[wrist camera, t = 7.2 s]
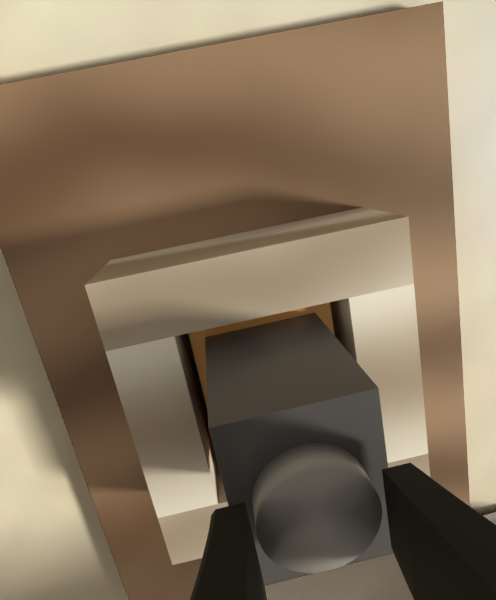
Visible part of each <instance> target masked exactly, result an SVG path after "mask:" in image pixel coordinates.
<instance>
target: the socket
mask: <svg viewBox="0 0 496 600" xmlns="http://www.w3.org/2000/svg"><path fill="white" fill-rule="evenodd" d="M0 246H1V249H2V252H3V254H4V257H5V260H6V263H7V265H8V268H9V271H10V274H11V276H12V279H13V282H14V285H15V287H16V290H17V293H18V296H19V298H20V301H21V304H22V307H23V309H24V312H25V315H26V318H27V321H28V323H29V326H30V329H31V332H32V334H33V337H34V340H35V343H36V345H37V348H38V351H39V354H40V356H41V359H42V362H43V365H44V367H45V370H46V373H47V376H48V378H49V381H50V384H51V387H52V389H53V392H54V395H55V398H56V400H57V403H58V406H59V409H60V411H61V414H62V417H63V420H64V422H65V425H66V428H67V431H68V433H69V436H70V439H71V442H72V444H73V447H74V450H75V453H76V455H77V458H78V461H79V464H80V467H81V469H82V472H83V475H84V478H85V480H86V483H87V486H88V489H89V491H90V494H91V497H92V500H93V502H94V505H95V508H96V511H97V513H98V516H99V519H100V522H101V524H102V527H103V530H104V533H105V535H106V538H107V541H108V544H109V546H110V549H111V552H112V555H113V557H114V560H115V563H116V566H117V568H118V571H119V574H120V577H121V579H122V582H123V585H124V588H125V590H126V593H127V596H128V599H129V600H190V598H191V595H192V591H193V588H194V585H195V582H196V578H197V575H198V572H199V568H200V564H201V561H202V557H203V553H204V549H205V545H206V541H207V536H208V531H209V526H210V520H211V515H212V513H213V512H214V511H215V509H219V508H223V507H227V506H228V502H227V498H226V494H225V490H224V487H223V483H222V479H221V475H220V471H219V467H218V463H217V460H216V456H215V452H214V448H213V444H212V440H211V436H210V432H209V429H208V409H207V405H206V401H205V397H204V393H203V389H202V385H201V381H200V377H199V373H198V369H197V365H196V361H195V357H194V353H193V349H192V345H191V341H190V337H189V333H192V332H196V331H201V330H205V329H210V328H214V327H219V326H224V325H228V324H233V323H237V322H242V321H246V320H251V319H255V318H260V317H265V316H269V315H274V314H278V313H283V312H287V311H292V310H296V309H301V308H306V307H310V306H315V305H319V304H324V303H328V302H330V306H331V313H332V320H333V327H334V333H335V337H336V338H337V339H338V340H339V342H340V343H341V344H342V345H343V346H344V348H345V349H346V350H347V351H348V352H349V353H350V355H351V356H352V357H353V358H354V359H355V361H356V362H357V363H358V364H359V365H360V367H361V368H362V369H363V370H364V371H365V373H366V374H367V375H368V376H369V377H370V379H371V380H372V381H373V382H374V383H375V384H376V386H377V387H378V388H379V396H380V404H381V412H382V421H383V429H384V437H385V445H386V453H387V461H388V468H390V467H394V466H398V465H402V464H406V463H412V464H413V465H415V466H416V467H417V468H419V469H420V470H421V471H423V472H424V473H425V474H427V475H428V476H429V477H431V478H432V479H433V480H435V481H436V482H437V483H439V484H440V485H441V486H443V487H444V488H446V489H447V490H448V491H450V492H451V493H452V494H454V495H455V496H456V497H458V498H459V499H460V500H462V501H463V502H465V503H466V504H467V505H469V506H470V500H469V482H468V463H467V444H466V426H465V407H464V388H463V369H462V351H461V332H460V313H459V295H458V276H457V257H456V239H455V220H454V201H453V182H452V164H451V145H450V126H449V108H448V89H447V70H446V52H445V33H444V14H443V1H442V2H437V3H432V4H426V5H421V6H416V7H411V8H405V9H400V10H395V11H389V12H384V13H379V14H373V15H368V16H363V17H357V18H352V19H347V20H341V21H336V22H331V23H325V24H320V25H315V26H310V27H304V28H299V29H294V30H288V31H283V32H278V33H272V34H267V35H262V36H256V37H251V38H246V39H240V40H235V41H230V42H224V43H219V44H214V45H209V46H203V47H198V48H193V49H187V50H182V51H177V52H171V53H166V54H161V55H155V56H150V57H145V58H139V59H134V60H129V61H123V62H118V63H113V64H108V65H102V66H97V67H92V68H86V69H81V70H76V71H70V72H65V73H60V74H54V75H49V76H44V77H38V78H33V79H28V80H22V81H17V82H12V83H7V84H1V85H0Z"/></svg>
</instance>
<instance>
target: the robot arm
mask: <svg viewBox="0 0 496 600" xmlns="http://www.w3.org/2000/svg"><path fill="white" fill-rule="evenodd" d="M382 475H383V483H384V491H385V500H386V508H387V516H388V524H389V532H390V540H391V547H392V550H393V552H394V554H395V557H396V559H397V561H398V564H399V566H400V568H401V571H402V573H403V575H404V578H405V580H406V582H407V584H408V587H409V589H410V591H411V593H412V596H413V598H414V600H496V512H494V513H490V514H486V515H481V514H480V513H478V512H477V511H476V510H474V509H473V508H471V507H470V506H469V505H467V504H466V503H465V502H463V501H462V500H460V499H459V498H458V497H456V496H455V495H454V494H452V493H451V492H450V491H448V490H447V489H446V488H444V487H443V486H441V485H440V484H439V483H437V482H436V481H435V480H433V479H432V478H431V477H429V476H428V475H427V474H425V473H424V472H423V471H421V470H420V469H419V468H417V467H416V466H415V465H413V464H412V463H406V464H402V465H398V466H394V467H390V468H386V469H382ZM190 600H267V598H266V593H265V587H264V581H263V576H262V572H261V568H260V564H259V560H258V555H257V551H256V547H255V543H254V539H253V534H252V530H251V526H250V522H249V518H248V513H247V509H246V505H245V502H244V503H240V504H235V505H231V506H227V507H223V508H219V509H215V511H214V512H213V513H212V515H211V520H210V526H209V531H208V536H207V541H206V545H205V549H204V553H203V557H202V561H201V564H200V568H199V572H198V575H197V578H196V582H195V585H194V588H193V591H192V595H191V598H190Z"/></svg>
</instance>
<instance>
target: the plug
mask: <svg viewBox="0 0 496 600" xmlns="http://www.w3.org/2000/svg"><path fill="white" fill-rule="evenodd" d="M205 349H206V376H207V404H208V429H209V432H210V436H211V440H212V444H213V448H214V452H215V456H216V460H217V463H218V467H219V471H220V475H221V479H222V483H223V487H224V490H225V494H226V498H227V502H228V506H231V505H235V504H240V503H244V502H245V505H246V509H247V513H248V518H249V522H250V526H251V530H252V534H253V539H254V543H255V547H256V551H257V555H258V560H259V564H260V568H261V572H262V576H263V581H264V586H265V585H269V584H273V583H277V582H281V581H285V580H289V579H293V578H297V577H301V576H305V575H308V574H312V573H319V572H325V571H330V570H333V569H336V568H339V567H341V566H344V565H348V564H352V563H356V562H360V561H364V560H368V559H372V558H376V557H380V556H383V555H387V554H391V553H394V552H393V550H392V547H391V540H390V532H389V524H388V516H387V508H386V500H385V491H384V483H383V475H382V469H386V468H388V461H387V453H386V445H385V437H384V429H383V421H382V412H381V404H380V396H379V388H378V387H377V386H376V384H375V383H374V382H373V381H372V380H371V379H370V377H369V376H368V375H367V374H366V373H365V371H364V370H363V369H362V368H361V367H360V365H359V364H358V363H357V362H356V361H355V359H354V358H353V357H352V356H351V355H350V353H349V352H348V351H347V350H346V349H345V348H344V346H343V345H342V344H341V343H340V342H339V340H338V339H337V338H336V337H335V336H334V334H333V333H332V332H331V331H330V330H329V328H328V327H327V326H326V325H325V324H324V322H323V321H322V320H321V319H320V318H319V316H318V315H317V314H316V313H311V314H306V315H302V316H297V317H293V318H288V319H284V320H280V321H275V322H271V323H266V324H262V325H257V326H253V327H248V328H244V329H240V330H235V331H231V332H226V333H222V334H217V335H213V336H208V337H205Z"/></svg>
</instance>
